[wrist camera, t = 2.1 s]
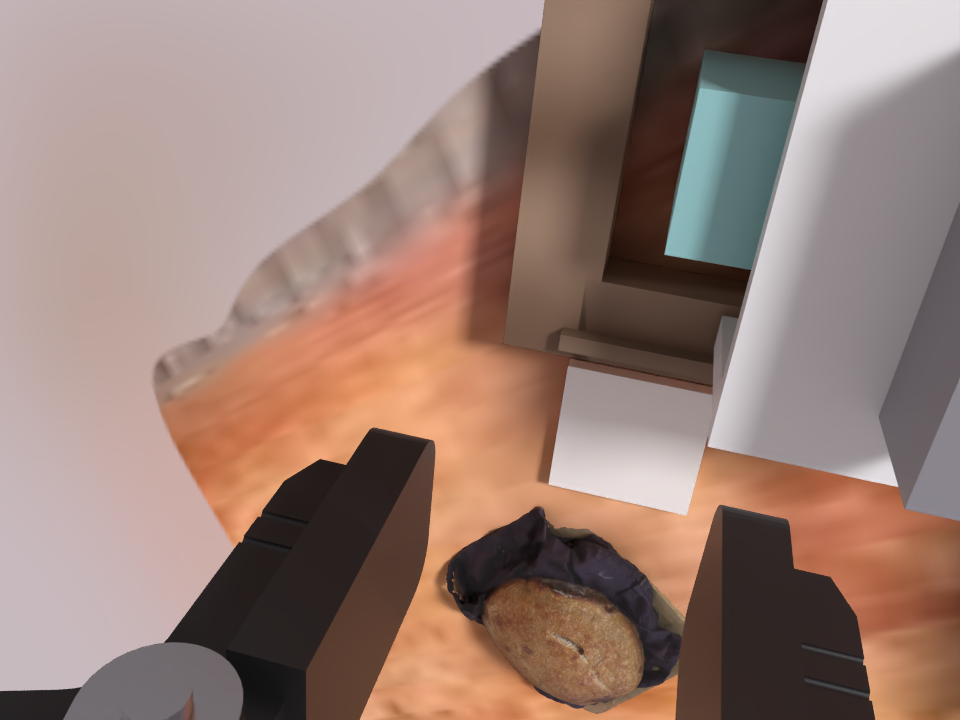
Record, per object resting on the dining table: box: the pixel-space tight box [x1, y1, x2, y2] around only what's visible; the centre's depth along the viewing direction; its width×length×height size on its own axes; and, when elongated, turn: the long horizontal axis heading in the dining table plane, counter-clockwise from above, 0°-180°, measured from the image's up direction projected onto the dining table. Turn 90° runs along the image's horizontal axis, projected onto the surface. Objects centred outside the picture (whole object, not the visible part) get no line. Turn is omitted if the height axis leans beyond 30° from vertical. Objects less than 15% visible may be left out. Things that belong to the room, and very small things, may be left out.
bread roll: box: [446, 507, 685, 714], centre depth 38 cm, size 11×8×4 cm
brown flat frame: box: [503, 0, 748, 386], centre depth 26 cm, size 16×25×3 cm, turn 84°
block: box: [664, 50, 806, 270], centre depth 25 cm, size 4×4×6 cm
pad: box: [548, 358, 713, 516], centre depth 34 cm, size 6×6×1 cm
